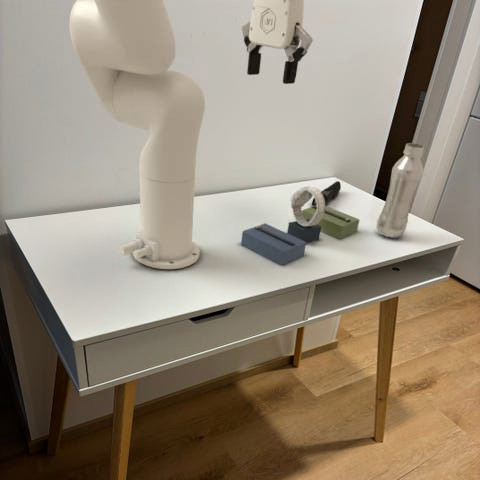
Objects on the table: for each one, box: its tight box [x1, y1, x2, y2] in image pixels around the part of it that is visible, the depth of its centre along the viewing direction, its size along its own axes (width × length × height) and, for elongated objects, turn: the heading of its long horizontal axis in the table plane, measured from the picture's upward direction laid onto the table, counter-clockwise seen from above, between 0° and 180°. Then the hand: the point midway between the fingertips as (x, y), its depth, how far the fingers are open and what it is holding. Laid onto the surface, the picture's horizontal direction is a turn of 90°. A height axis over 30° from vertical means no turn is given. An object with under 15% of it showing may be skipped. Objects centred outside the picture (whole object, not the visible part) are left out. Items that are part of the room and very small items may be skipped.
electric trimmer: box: [311, 180, 342, 206], centre depth 126 cm, size 4×16×3 cm, turn 152°
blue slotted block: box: [240, 223, 307, 266], centre depth 98 cm, size 7×11×4 cm, turn 46°
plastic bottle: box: [376, 142, 425, 239], centre depth 106 cm, size 6×7×20 cm
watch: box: [286, 185, 325, 244], centre depth 102 cm, size 6×8×11 cm
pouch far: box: [301, 205, 361, 240], centre depth 111 cm, size 7×11×4 cm, turn 46°
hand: (270, 78), depth 101 cm, fingers open, 9 cm apart
